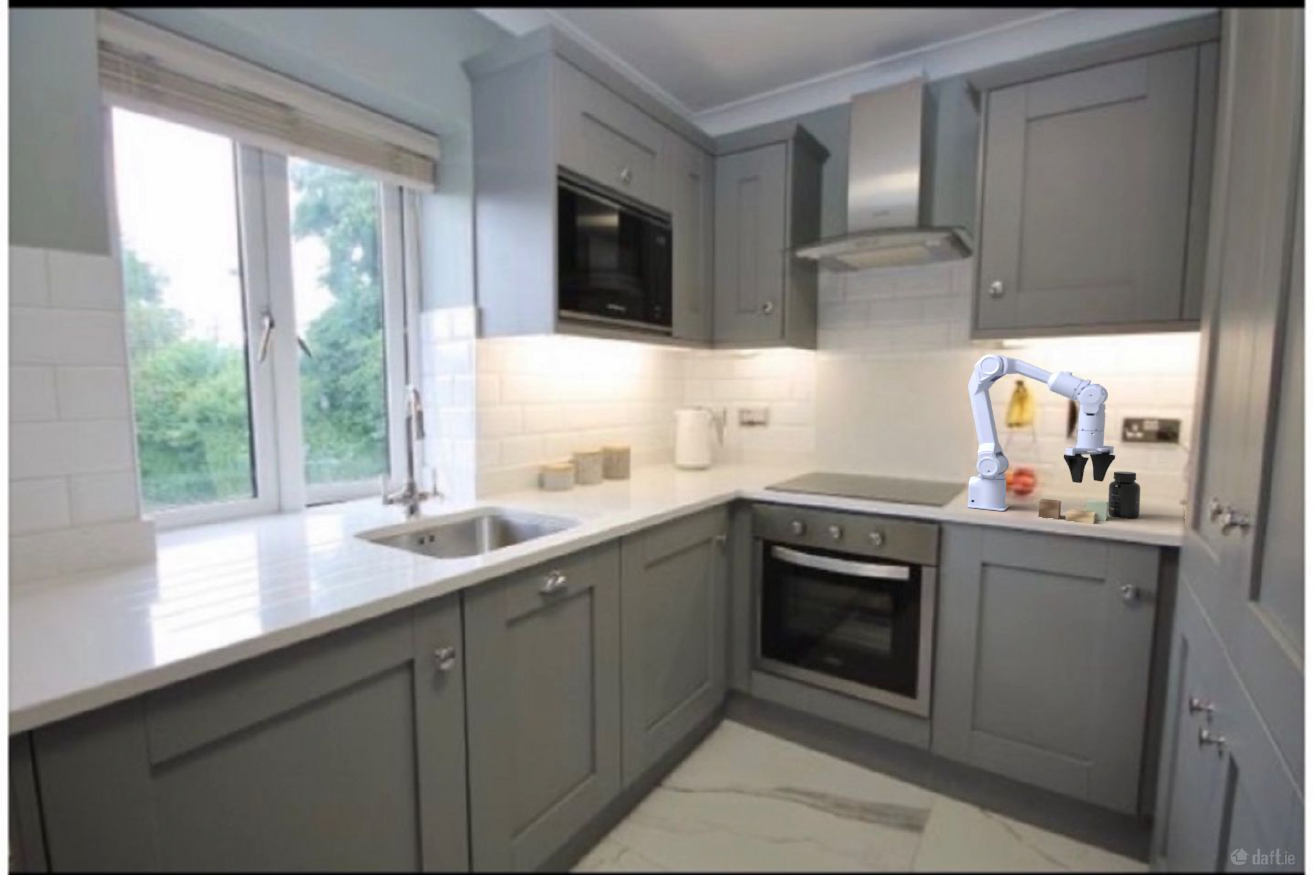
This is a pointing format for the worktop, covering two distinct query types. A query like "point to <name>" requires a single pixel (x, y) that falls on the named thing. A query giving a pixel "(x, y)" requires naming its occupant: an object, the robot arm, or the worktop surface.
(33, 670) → the worktop surface
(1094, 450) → the robot arm
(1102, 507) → the sage cube
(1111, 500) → the supplement bottle
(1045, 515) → the walnut cube
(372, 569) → the worktop surface
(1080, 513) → the oak slab
